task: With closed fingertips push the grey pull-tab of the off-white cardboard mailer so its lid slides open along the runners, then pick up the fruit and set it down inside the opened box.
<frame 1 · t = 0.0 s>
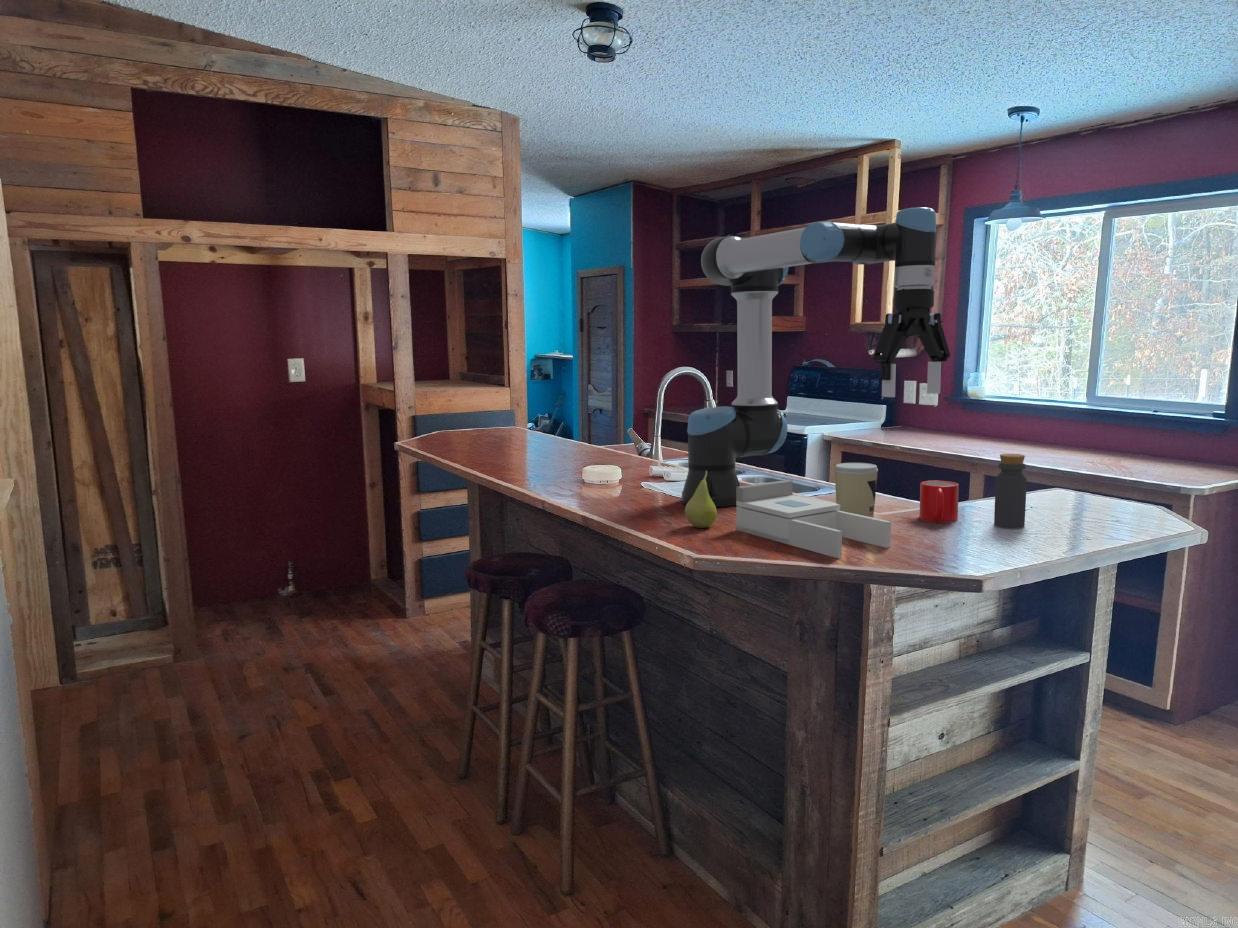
hand: (911, 395, 170), 28 cm above the table, fingers open, 13 cm apart
bottle: (1009, 526, 176), on the table
mug: (939, 521, 182), on the table
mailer: (787, 532, 174), on the table
fruit: (701, 527, 182), on the table
lid: (787, 497, 173), point 7 cm above the table, slide at 0.0 cm
coffee cup: (855, 519, 186), on the table
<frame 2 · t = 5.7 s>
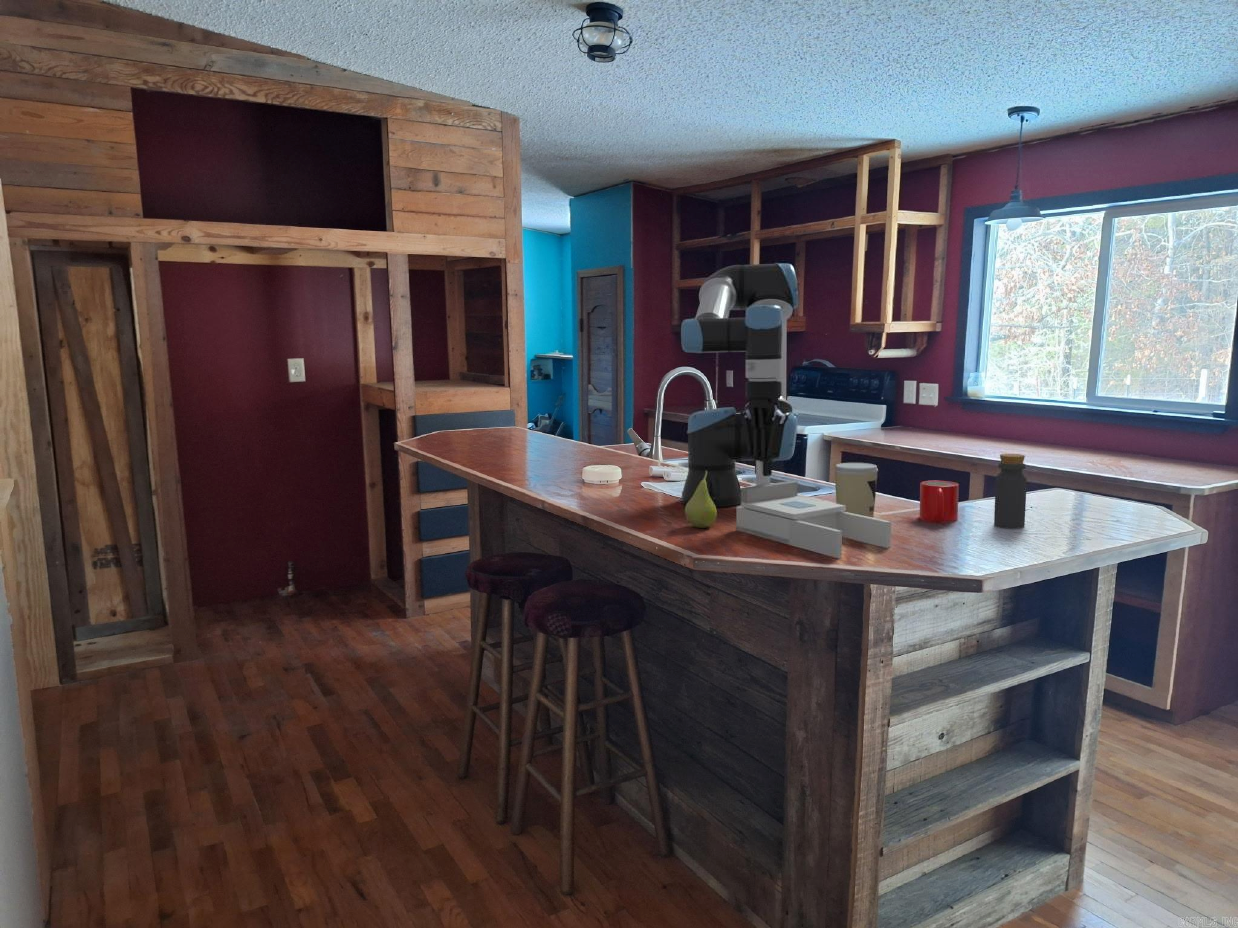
hand: (763, 490, 179), 8 cm above the table, fingers closed
lid: (792, 499, 172), point 7 cm above the table, slide at 1.5 cm, touching gripper
everything else where it was.
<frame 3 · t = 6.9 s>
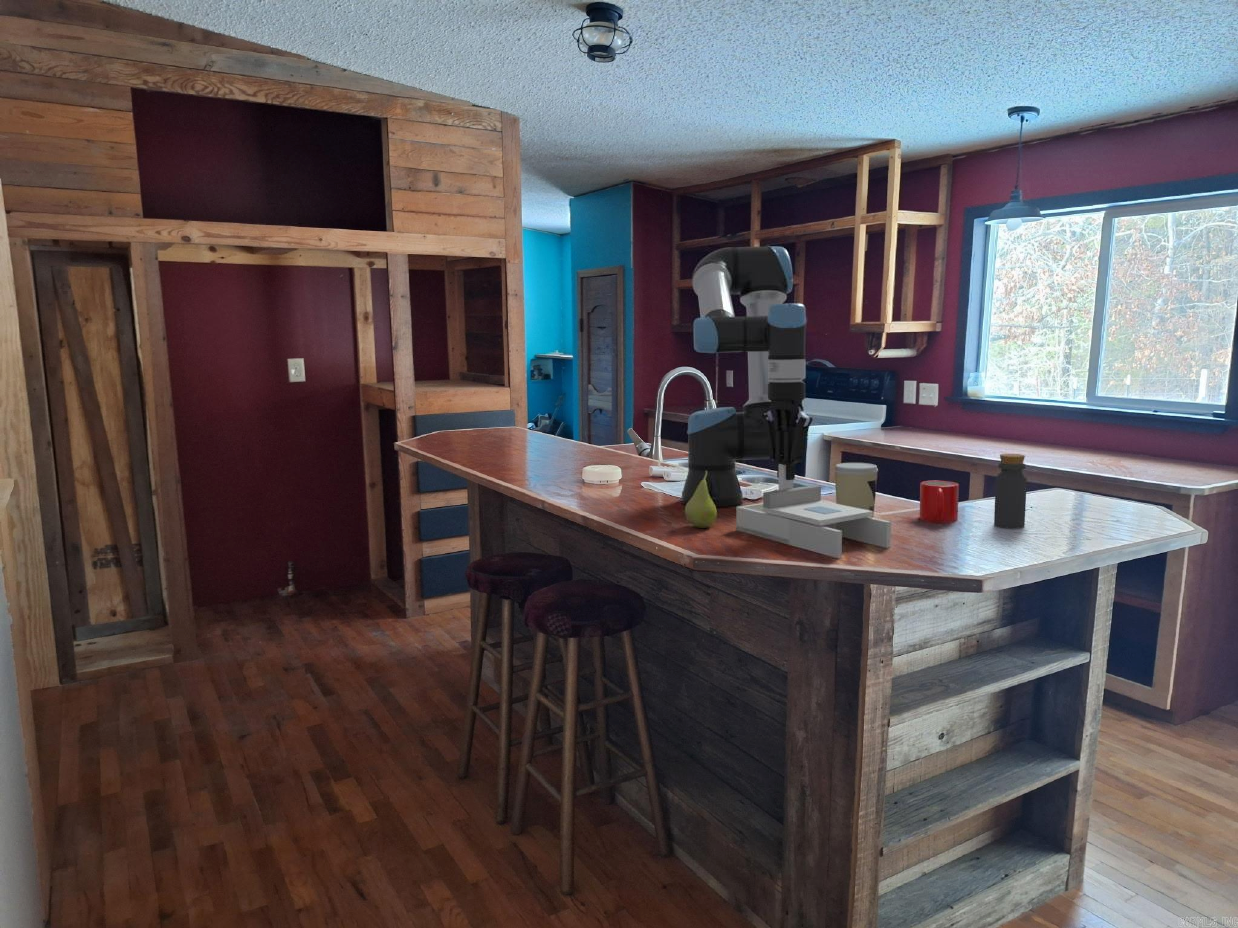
hand: (785, 494, 173), 8 cm above the table, fingers closed
lid: (816, 504, 166), point 7 cm above the table, slide at 8.5 cm, touching gripper
everything else where it was.
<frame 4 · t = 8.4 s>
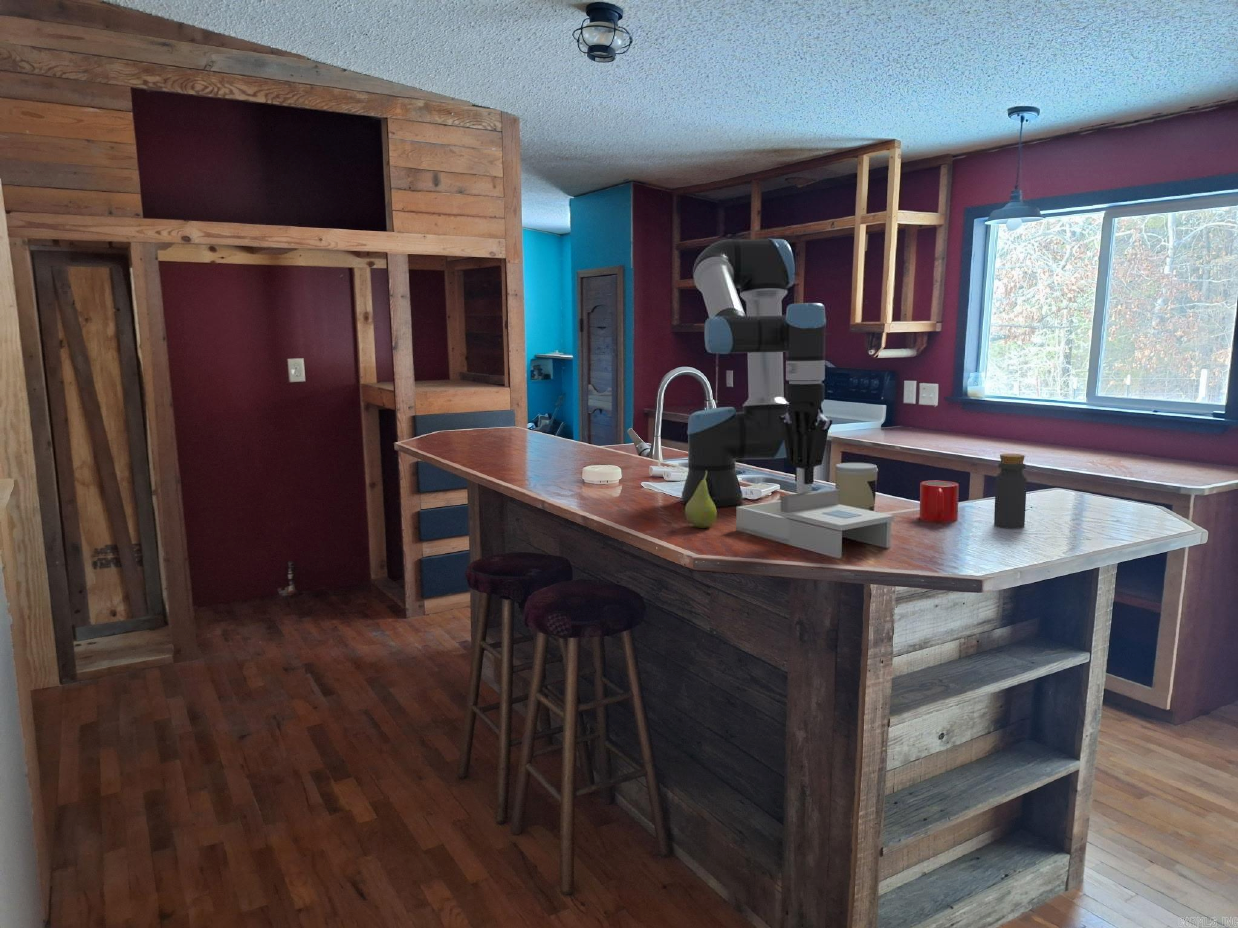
hand: (804, 499, 169), 8 cm above the table, fingers closed
lid: (836, 508, 162), point 7 cm above the table, slide at 13.7 cm, touching gripper
everything else where it was.
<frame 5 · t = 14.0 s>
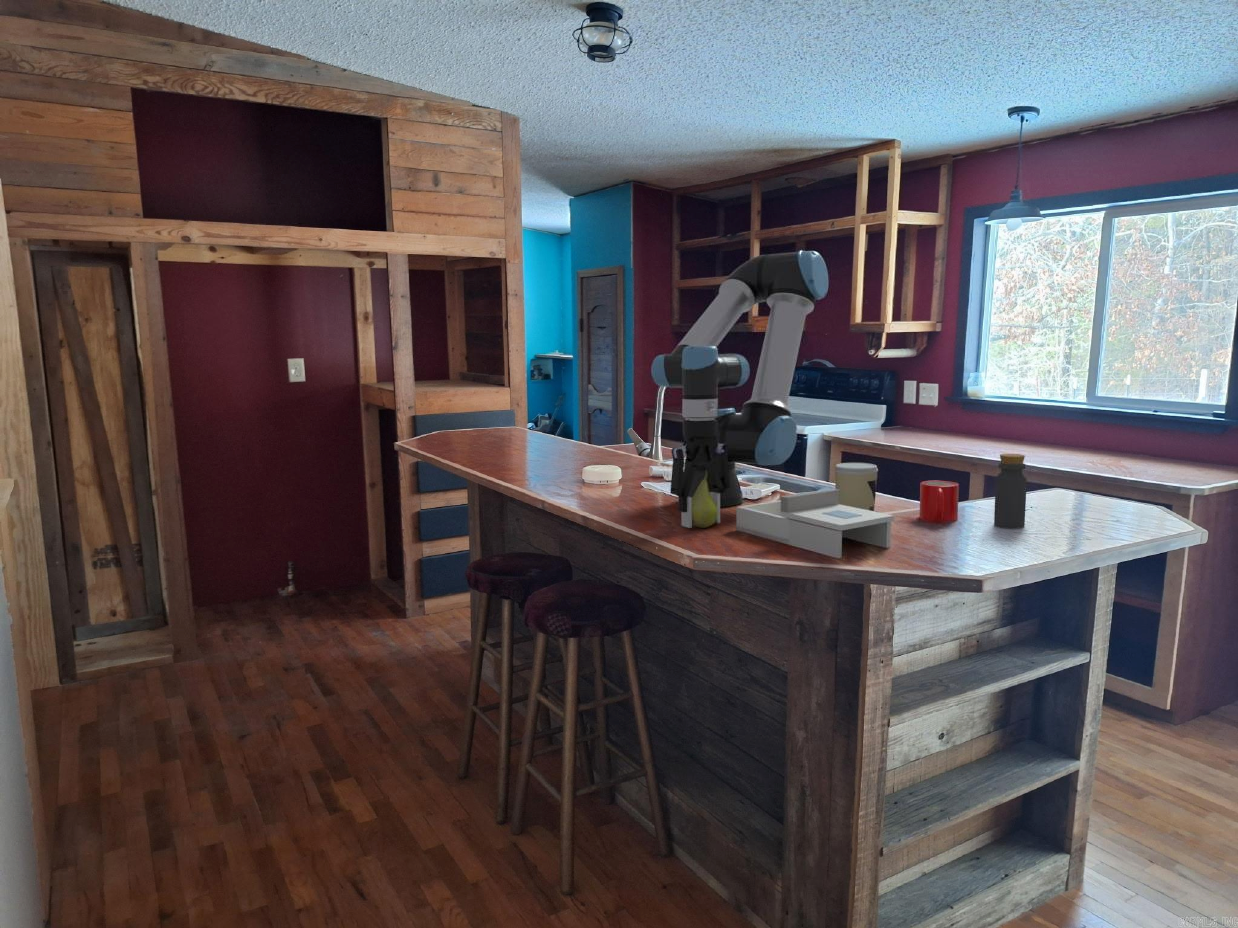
hand: (700, 524, 181), 1 cm above the table, fingers closed on fruit, 7 cm apart
fruit: (702, 527, 182), on the table, touching gripper
lid: (836, 508, 162), point 7 cm above the table, slide at 13.7 cm
everything else where it was.
when the fingers open (4 cm above the table, at t = 19.5 s): fruit drops 3 cm, resting on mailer.
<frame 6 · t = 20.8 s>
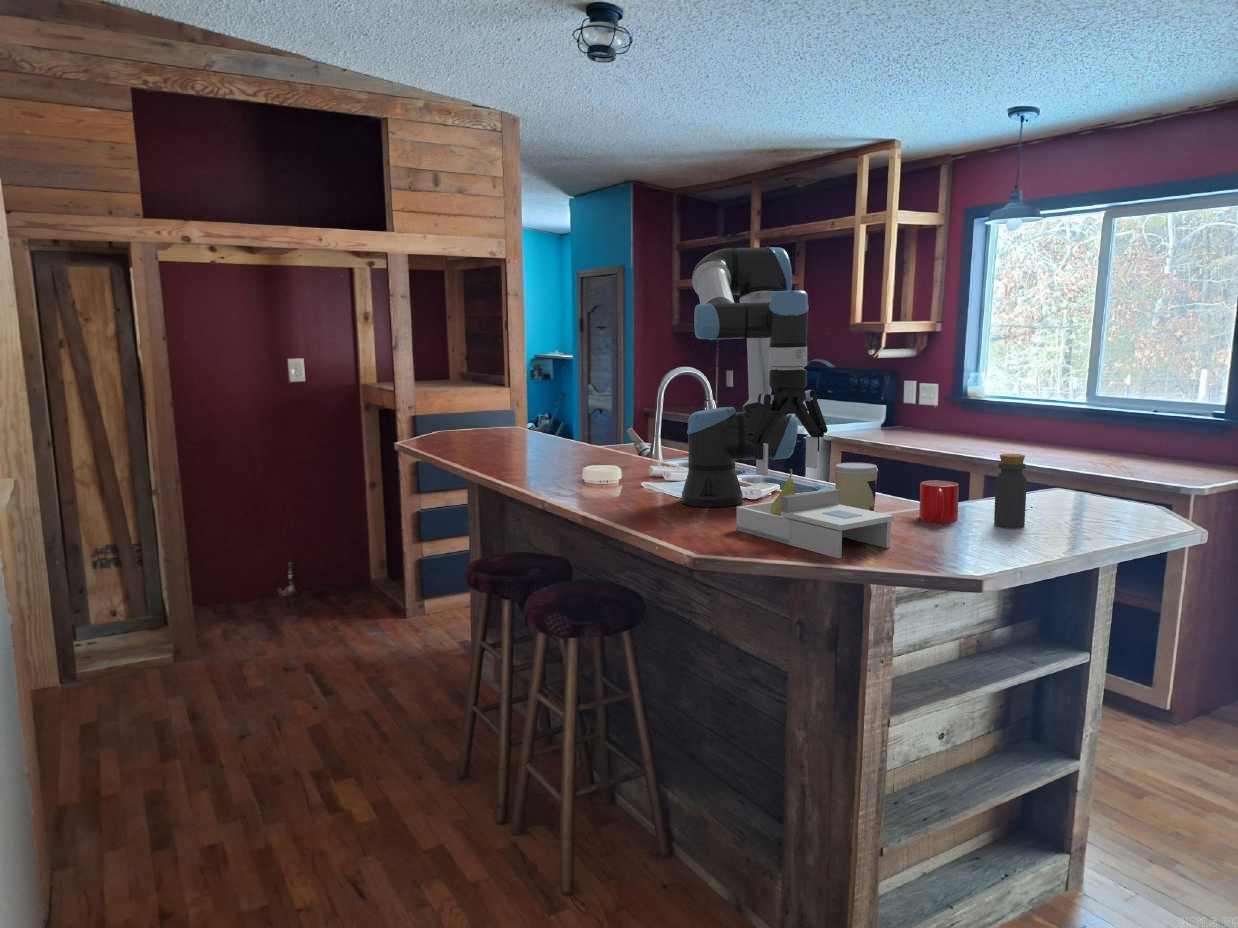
hand: (787, 471, 173), 13 cm above the table, fingers open, 13 cm apart
fruit: (787, 528, 174), point 1 cm above the table, touching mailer
everything else where it was.
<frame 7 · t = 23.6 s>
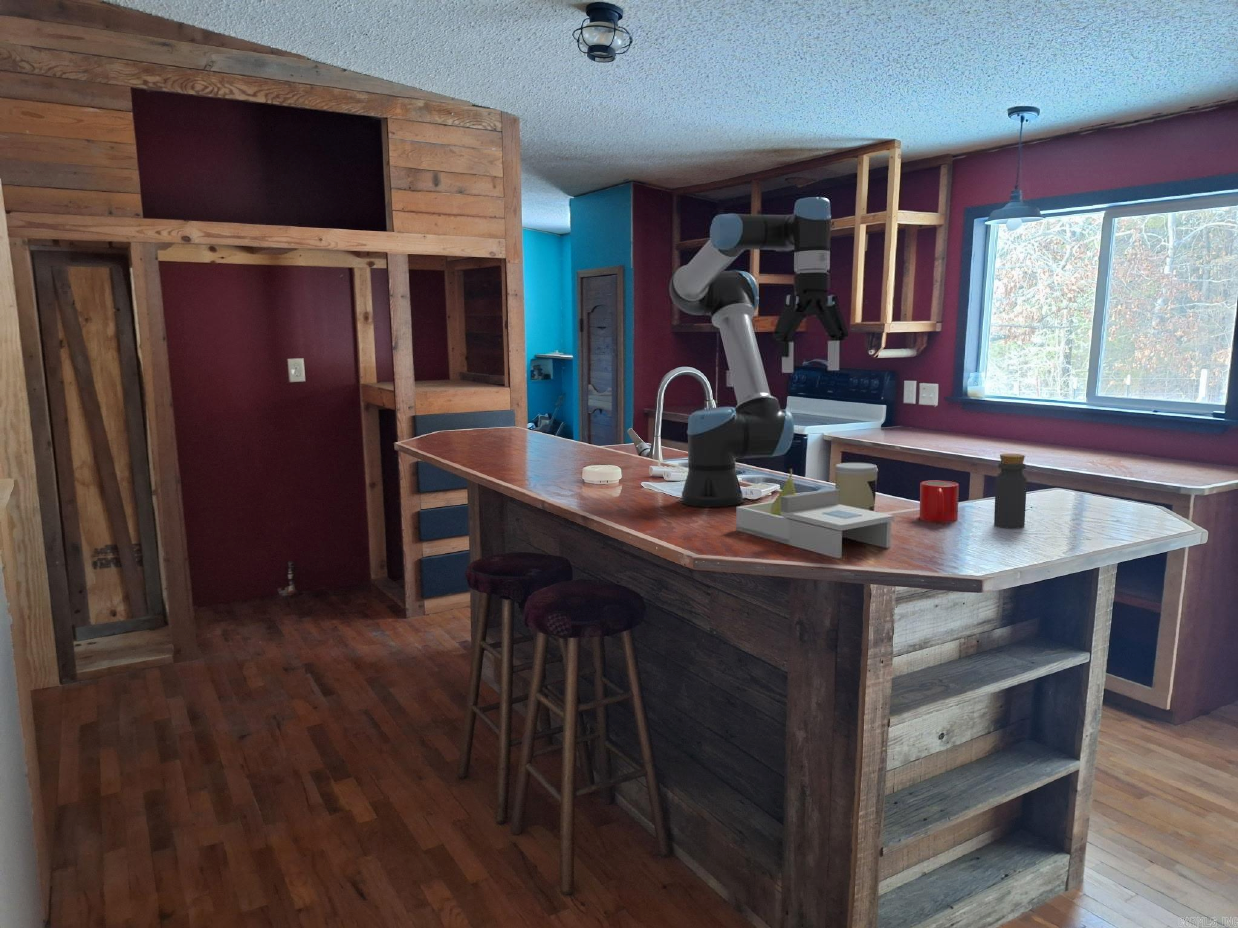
hand: (810, 371, 184), 33 cm above the table, fingers open, 13 cm apart
nothing on the table moved.
at the end: lid slide at 13.7 cm; fruit inside the target area on the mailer (0.1 cm from its centre), point 0.8 cm above the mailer's base; the gripper is holding nothing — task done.
